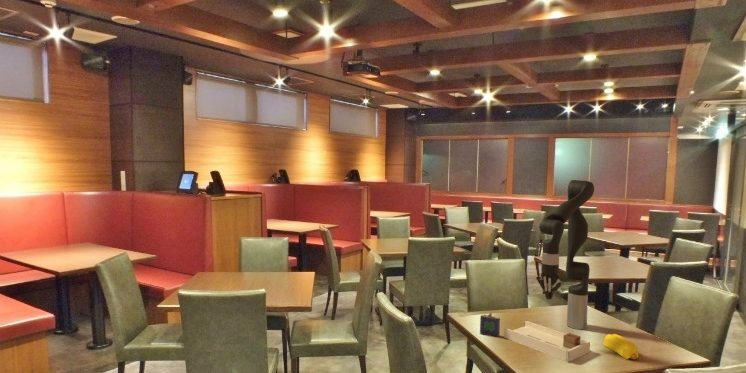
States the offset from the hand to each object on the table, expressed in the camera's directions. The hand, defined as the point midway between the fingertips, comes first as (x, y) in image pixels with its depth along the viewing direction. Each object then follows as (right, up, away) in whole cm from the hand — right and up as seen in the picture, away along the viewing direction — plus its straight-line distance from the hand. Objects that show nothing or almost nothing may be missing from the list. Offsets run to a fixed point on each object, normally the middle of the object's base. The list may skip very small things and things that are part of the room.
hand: (548, 298), depth 206 cm
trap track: (-3, -20, -4) cm, 20 cm away
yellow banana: (+27, -21, -11) cm, 36 cm away
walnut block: (+6, -19, -11) cm, 22 cm away
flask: (-26, -19, +7) cm, 33 cm away
